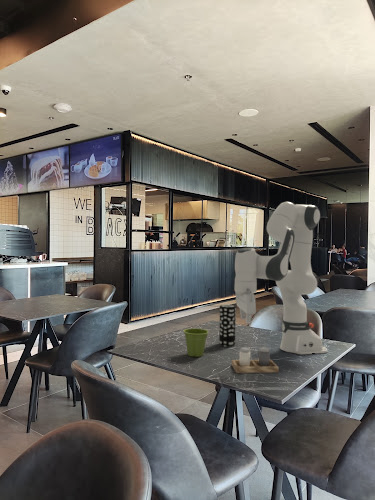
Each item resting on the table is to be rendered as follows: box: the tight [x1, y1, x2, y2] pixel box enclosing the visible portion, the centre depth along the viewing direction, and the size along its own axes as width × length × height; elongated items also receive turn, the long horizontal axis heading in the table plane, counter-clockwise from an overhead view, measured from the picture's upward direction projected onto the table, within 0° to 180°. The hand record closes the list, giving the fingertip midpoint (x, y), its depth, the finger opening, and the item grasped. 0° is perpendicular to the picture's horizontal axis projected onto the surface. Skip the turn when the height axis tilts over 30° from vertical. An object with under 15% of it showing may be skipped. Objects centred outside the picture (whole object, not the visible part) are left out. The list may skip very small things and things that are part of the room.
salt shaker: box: [238, 347, 251, 367], centre depth 154 cm, size 4×4×8 cm
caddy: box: [231, 359, 280, 374], centre depth 155 cm, size 17×10×3 cm, turn 94°
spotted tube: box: [218, 304, 237, 348], centre depth 195 cm, size 8×8×20 cm
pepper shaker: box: [258, 347, 271, 367], centre depth 155 cm, size 4×4×8 cm
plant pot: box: [183, 327, 209, 358], centre depth 176 cm, size 12×12×11 cm
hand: (245, 321), depth 154 cm, fingers open, 8 cm apart
